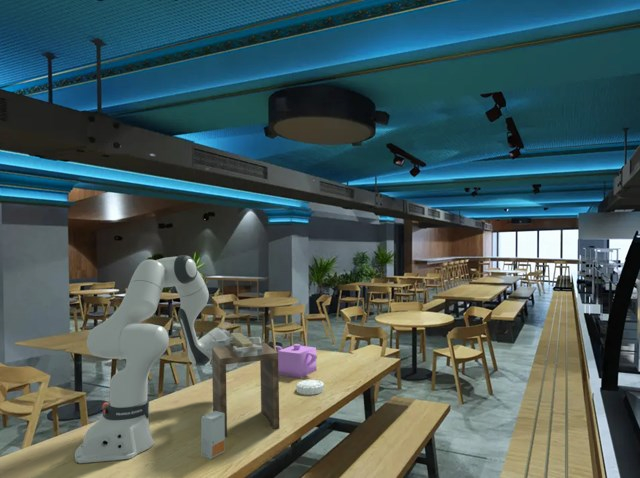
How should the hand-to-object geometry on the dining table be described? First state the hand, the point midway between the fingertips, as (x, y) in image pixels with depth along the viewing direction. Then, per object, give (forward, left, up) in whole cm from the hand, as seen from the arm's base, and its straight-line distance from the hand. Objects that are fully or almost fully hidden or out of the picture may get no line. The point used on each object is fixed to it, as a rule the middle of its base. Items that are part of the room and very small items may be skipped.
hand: (238, 338), depth 174 cm
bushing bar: (0, -6, -2) cm, 7 cm away
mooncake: (+34, +15, -29) cm, 47 cm away
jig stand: (0, -11, -28) cm, 30 cm away
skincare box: (-14, -31, -28) cm, 44 cm away
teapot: (+37, +45, -29) cm, 65 cm away
